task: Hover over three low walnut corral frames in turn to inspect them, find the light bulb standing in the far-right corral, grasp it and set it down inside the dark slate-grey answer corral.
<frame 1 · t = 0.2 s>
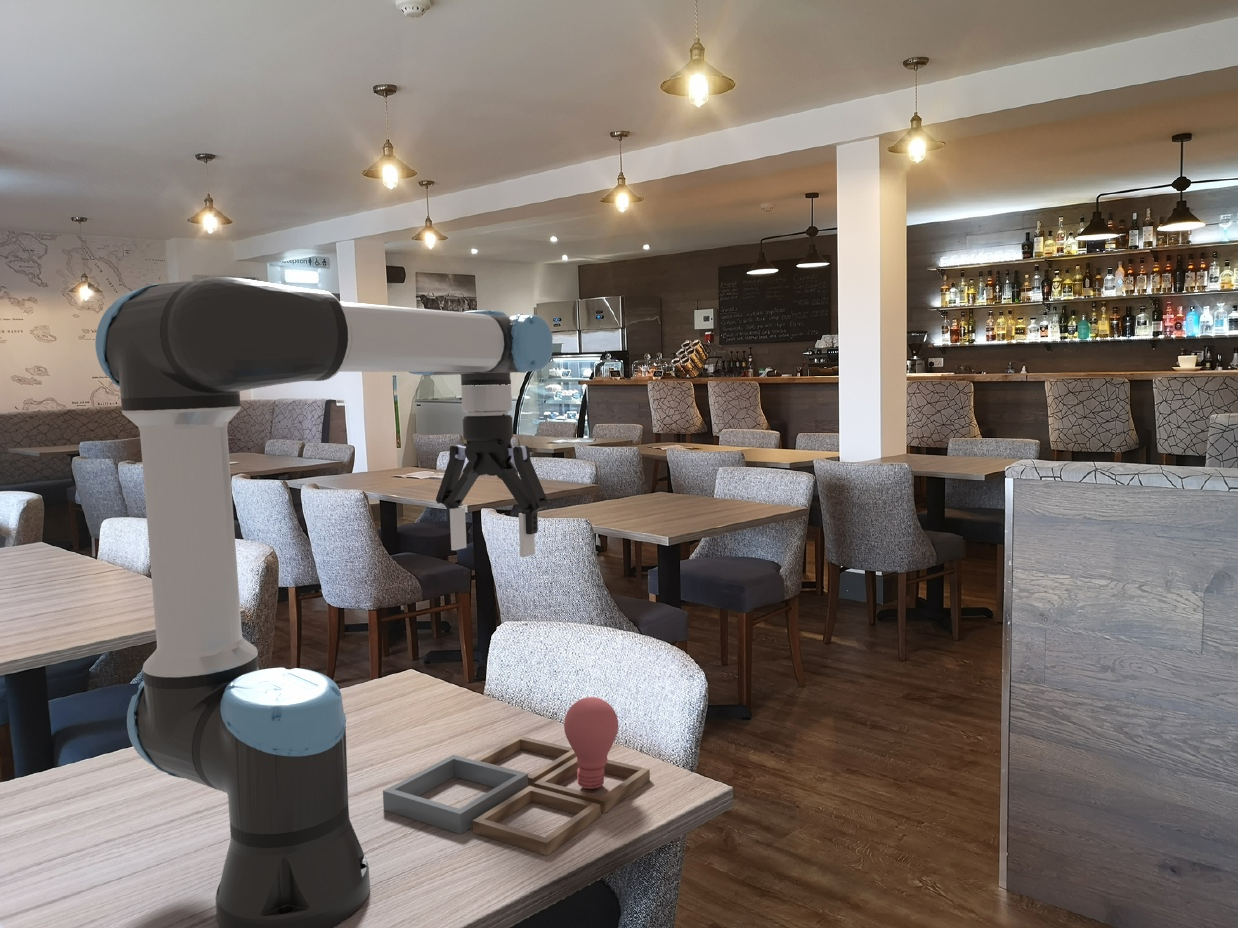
hand: (492, 552, 143), 28 cm above the table, fingers open, 13 cm apart
answer corral: (457, 800, 119), on the table
corral A: (537, 824, 113), on the table
light bulb: (592, 788, 123), resting in corral B
corral B: (592, 786, 123), on the table
corral C: (525, 766, 130), on the table
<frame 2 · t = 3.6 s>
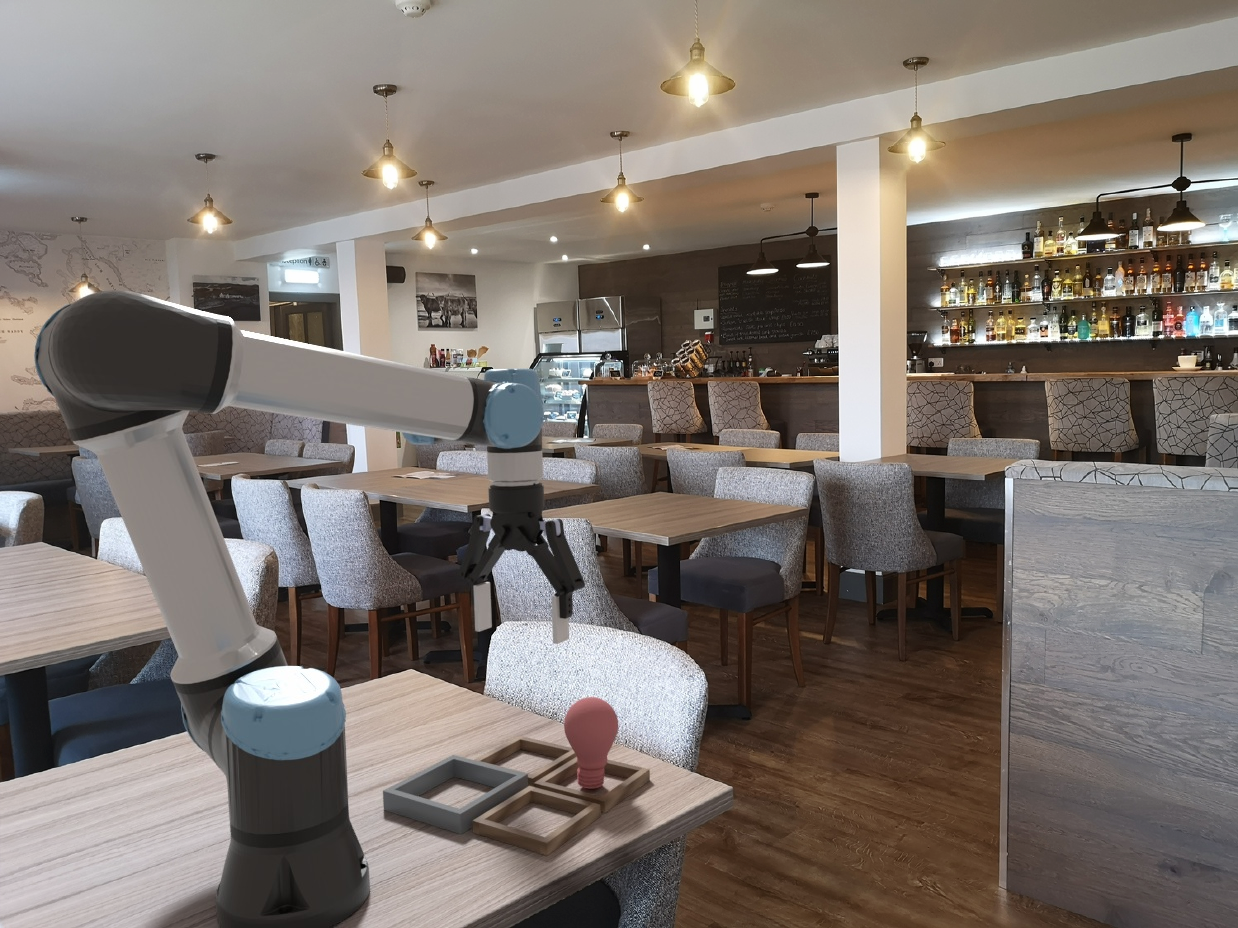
hand: (521, 635, 128), 19 cm above the table, fingers open, 13 cm apart
nothing on the table moved.
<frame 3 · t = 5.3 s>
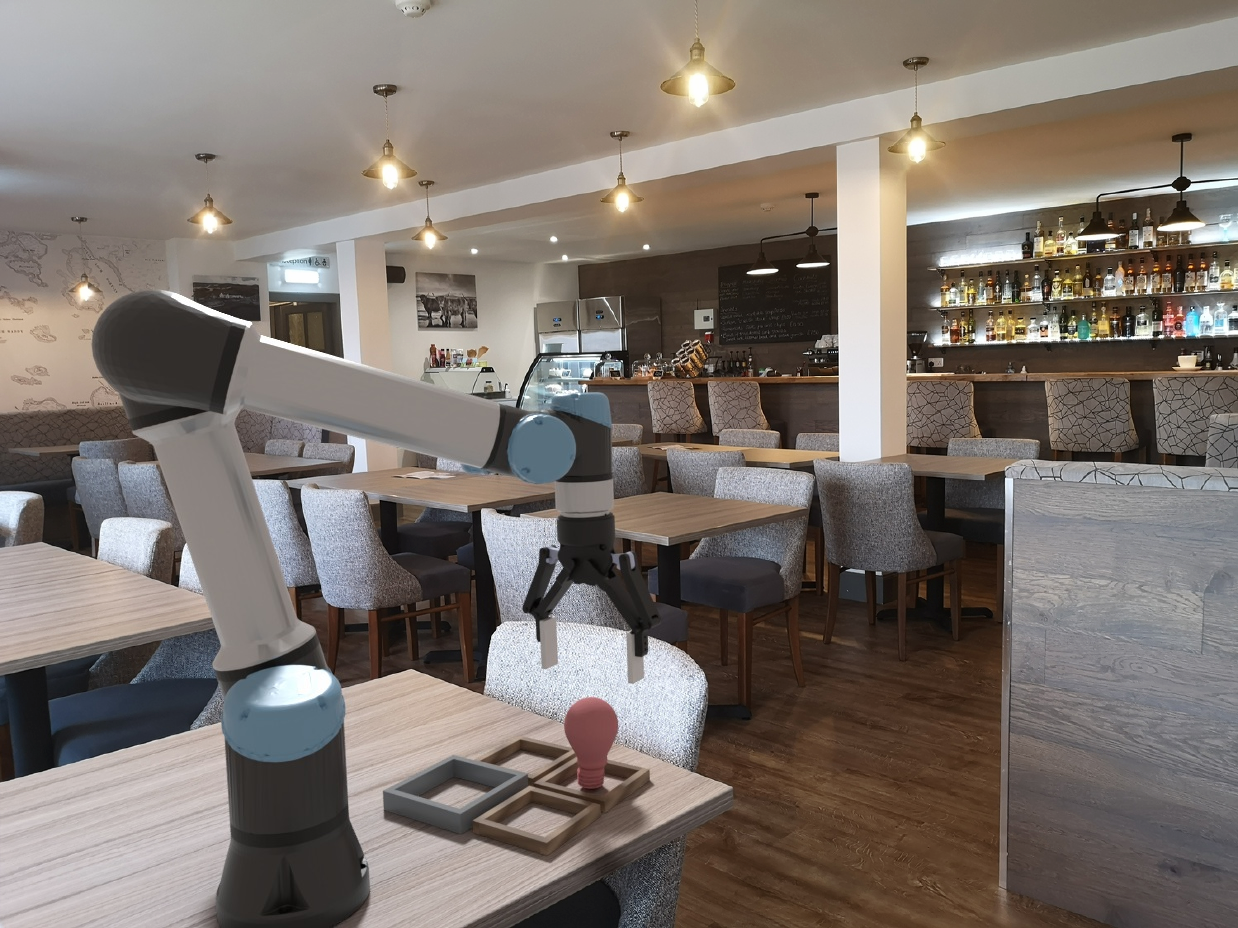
hand: (591, 673, 121), 15 cm above the table, fingers open, 13 cm apart
nothing on the table moved.
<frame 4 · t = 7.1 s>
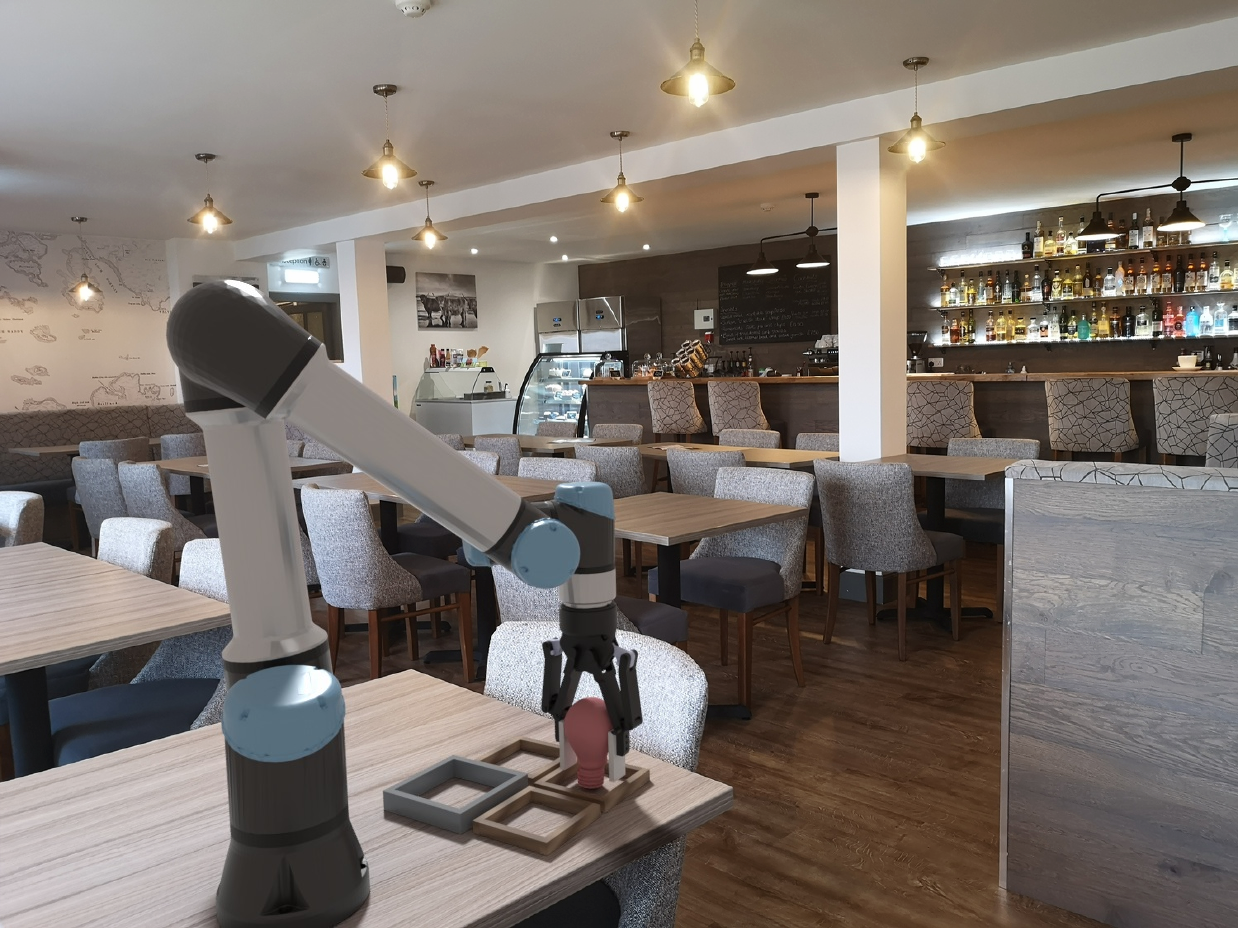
hand: (592, 771, 122), 2 cm above the table, fingers closed on light bulb, 7 cm apart
light bulb: (593, 788, 123), resting in corral B, touching gripper
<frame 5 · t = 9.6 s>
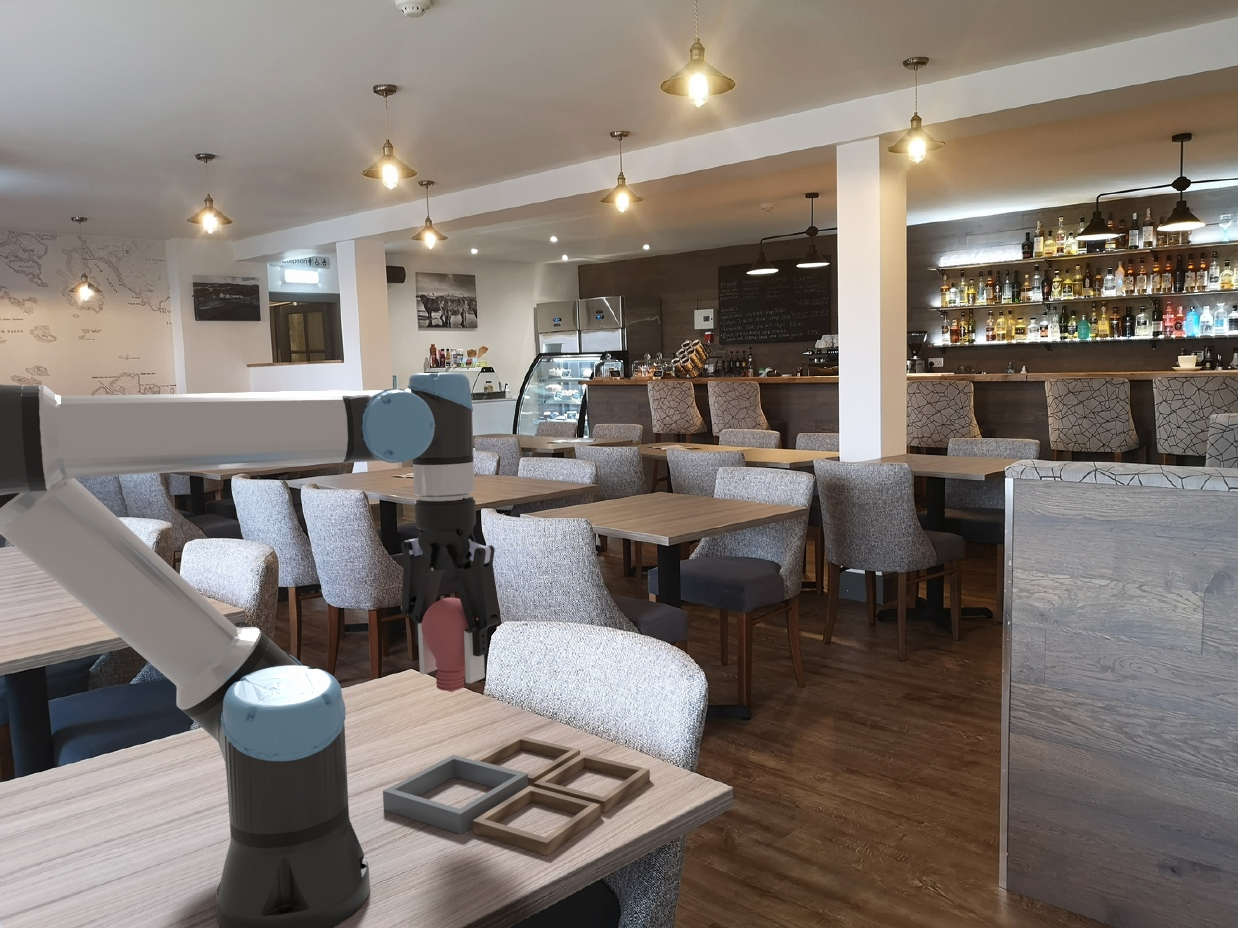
hand: (452, 675, 118), 17 cm above the table, fingers closed on light bulb, 7 cm apart
light bulb: (453, 692, 118), point 14 cm above the table, touching gripper
when the fingers open (3 cm above the table, at t = 12.5 s): light bulb stays where it is, resting in answer corral.
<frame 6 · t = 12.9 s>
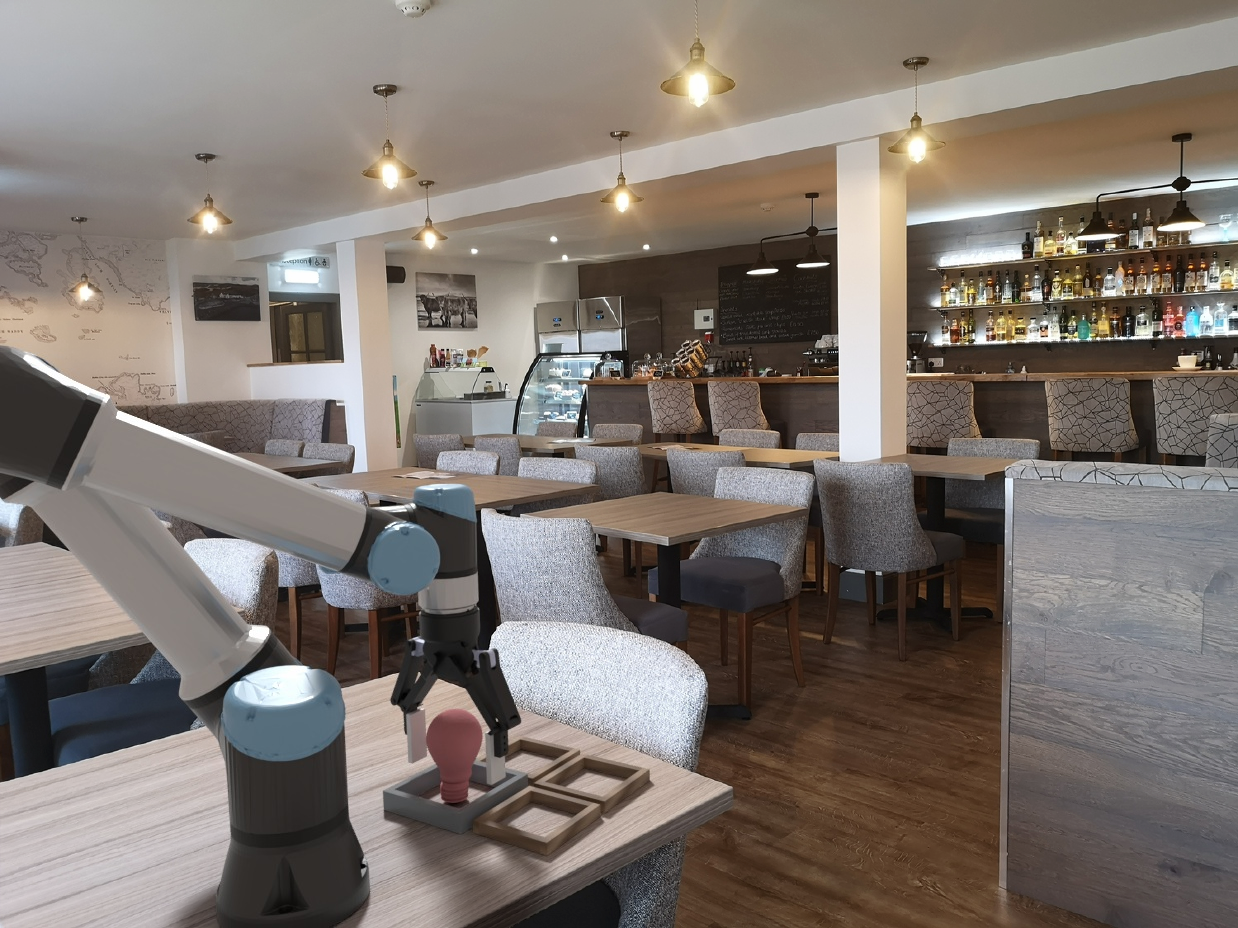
hand: (455, 769, 119), 4 cm above the table, fingers open, 13 cm apart
light bulb: (457, 802, 120), resting in answer corral
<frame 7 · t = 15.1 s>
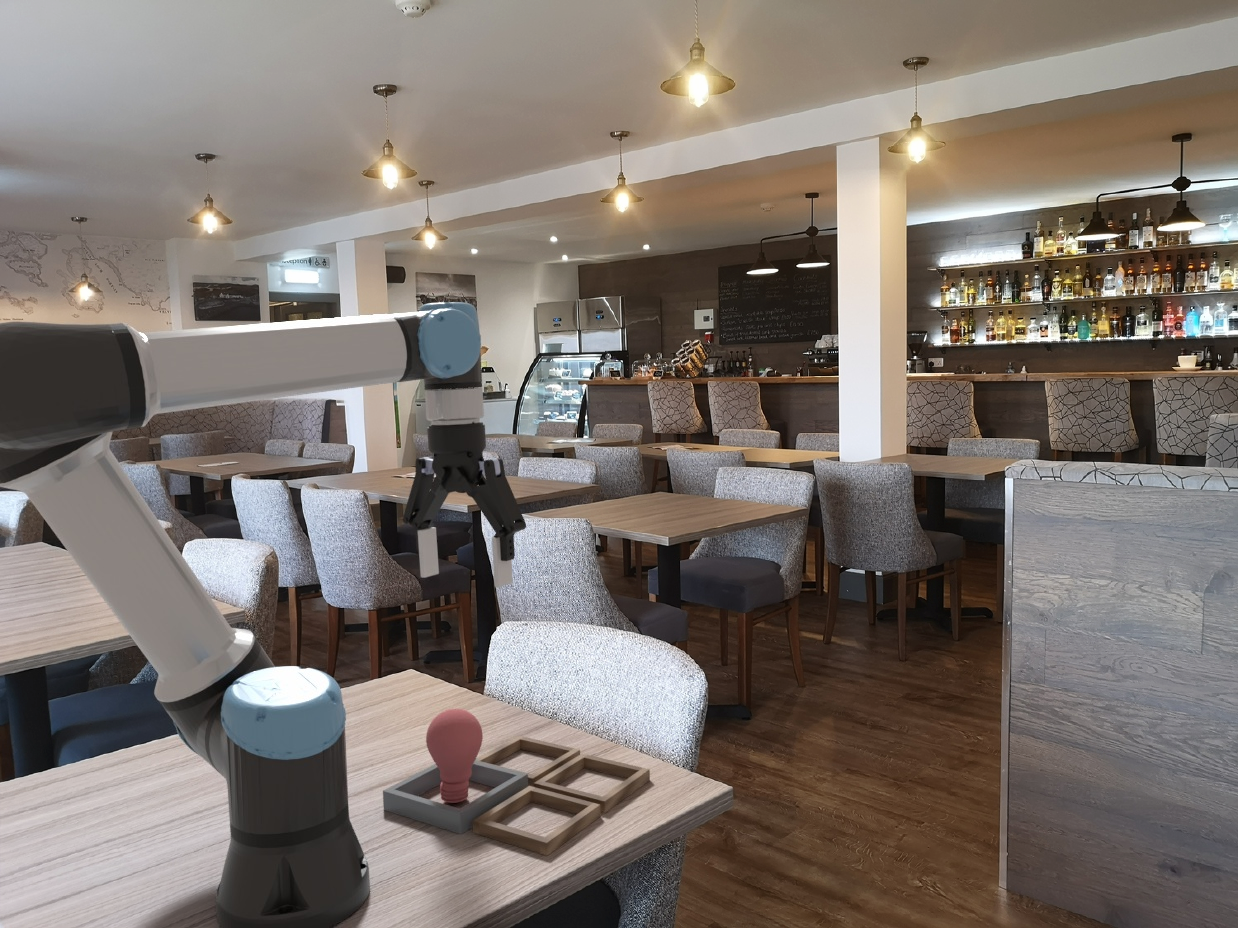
hand: (465, 580, 124), 27 cm above the table, fingers open, 13 cm apart
nothing on the table moved.
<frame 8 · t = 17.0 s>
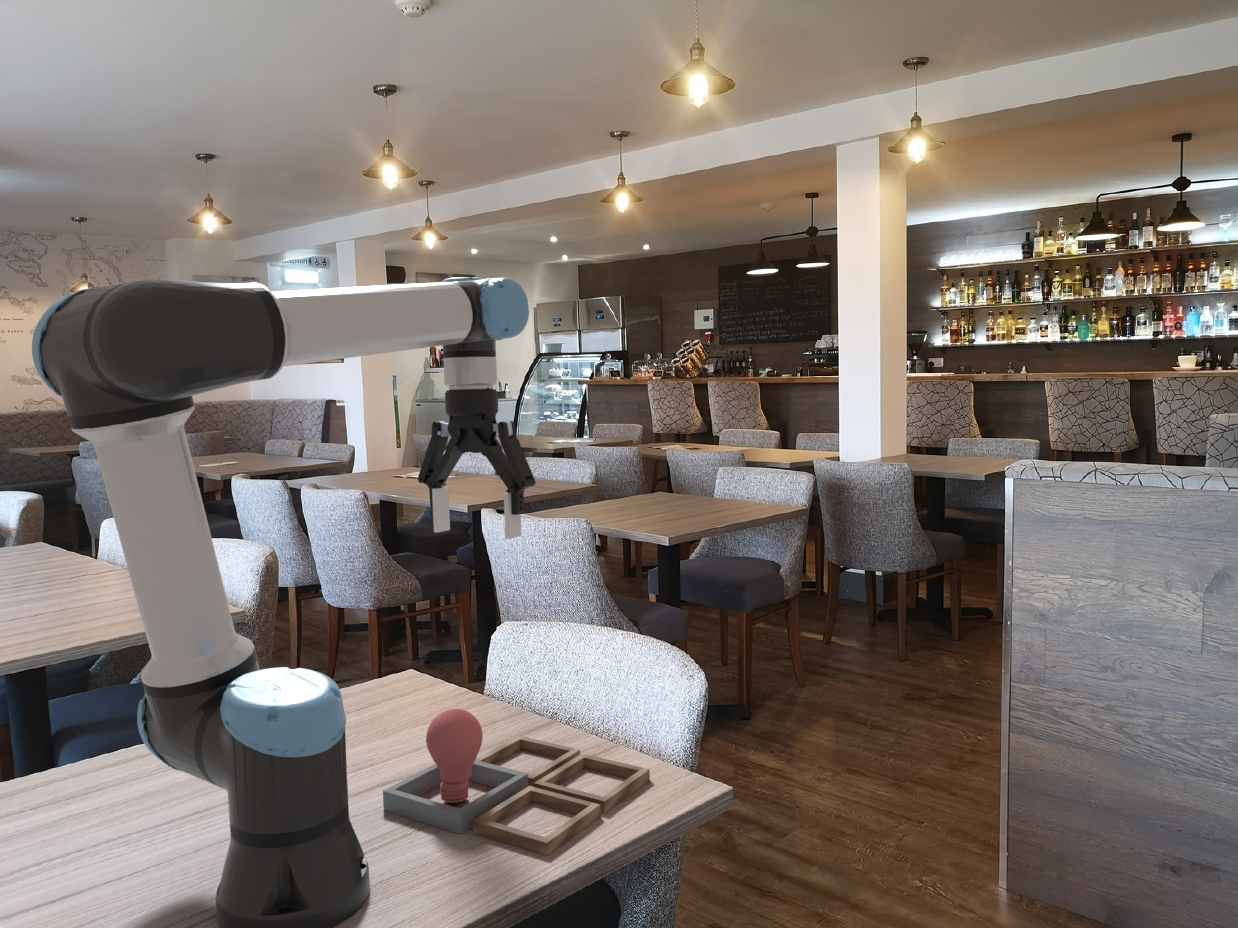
hand: (476, 534, 135), 32 cm above the table, fingers open, 13 cm apart
nothing on the table moved.
at the end: light bulb 0.0 cm from the answer corral (horizontally); the gripper is holding nothing; light bulb moved 17.7 cm from its start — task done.
